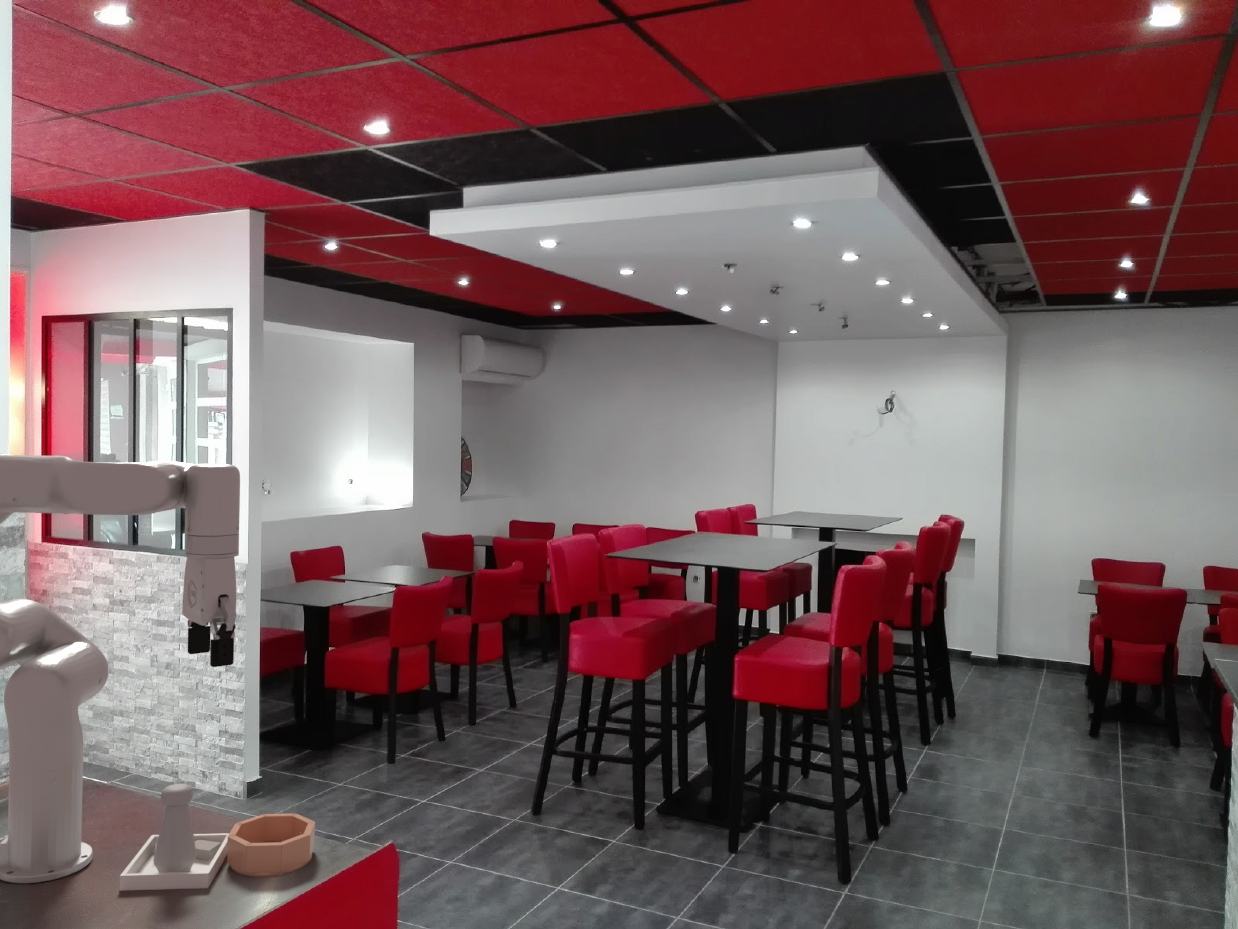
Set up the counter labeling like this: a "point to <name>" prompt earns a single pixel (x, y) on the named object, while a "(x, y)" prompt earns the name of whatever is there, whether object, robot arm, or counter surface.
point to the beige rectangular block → (206, 849)
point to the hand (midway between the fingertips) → (210, 659)
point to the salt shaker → (175, 831)
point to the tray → (148, 878)
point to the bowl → (270, 844)
